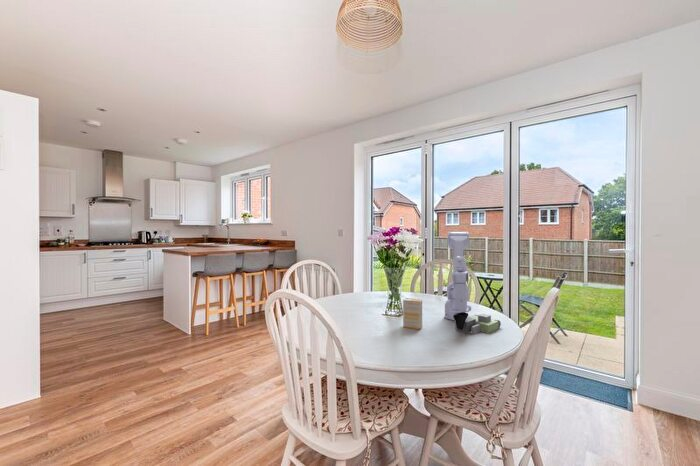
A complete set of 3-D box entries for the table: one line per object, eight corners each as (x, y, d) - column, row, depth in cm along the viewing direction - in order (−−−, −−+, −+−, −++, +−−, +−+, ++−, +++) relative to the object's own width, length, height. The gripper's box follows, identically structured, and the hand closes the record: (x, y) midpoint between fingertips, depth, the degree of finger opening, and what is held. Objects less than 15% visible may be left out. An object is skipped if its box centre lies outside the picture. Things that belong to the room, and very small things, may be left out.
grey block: (456, 330, 139) (456, 319, 139) (465, 327, 143) (465, 316, 143) (467, 333, 135) (467, 322, 135) (475, 330, 140) (475, 319, 139)
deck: (455, 328, 142) (455, 315, 141) (475, 321, 152) (475, 309, 152) (480, 336, 132) (481, 322, 132) (501, 327, 143) (501, 315, 142)
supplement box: (422, 326, 144) (422, 299, 144) (420, 330, 140) (420, 301, 140) (405, 324, 148) (405, 297, 148) (402, 327, 144) (402, 299, 143)
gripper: (458, 303, 128) (458, 335, 129) (477, 297, 137) (477, 328, 137) (444, 299, 134) (444, 330, 134) (463, 294, 143) (463, 324, 143)
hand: (460, 329), depth 136 cm, fingers closed
